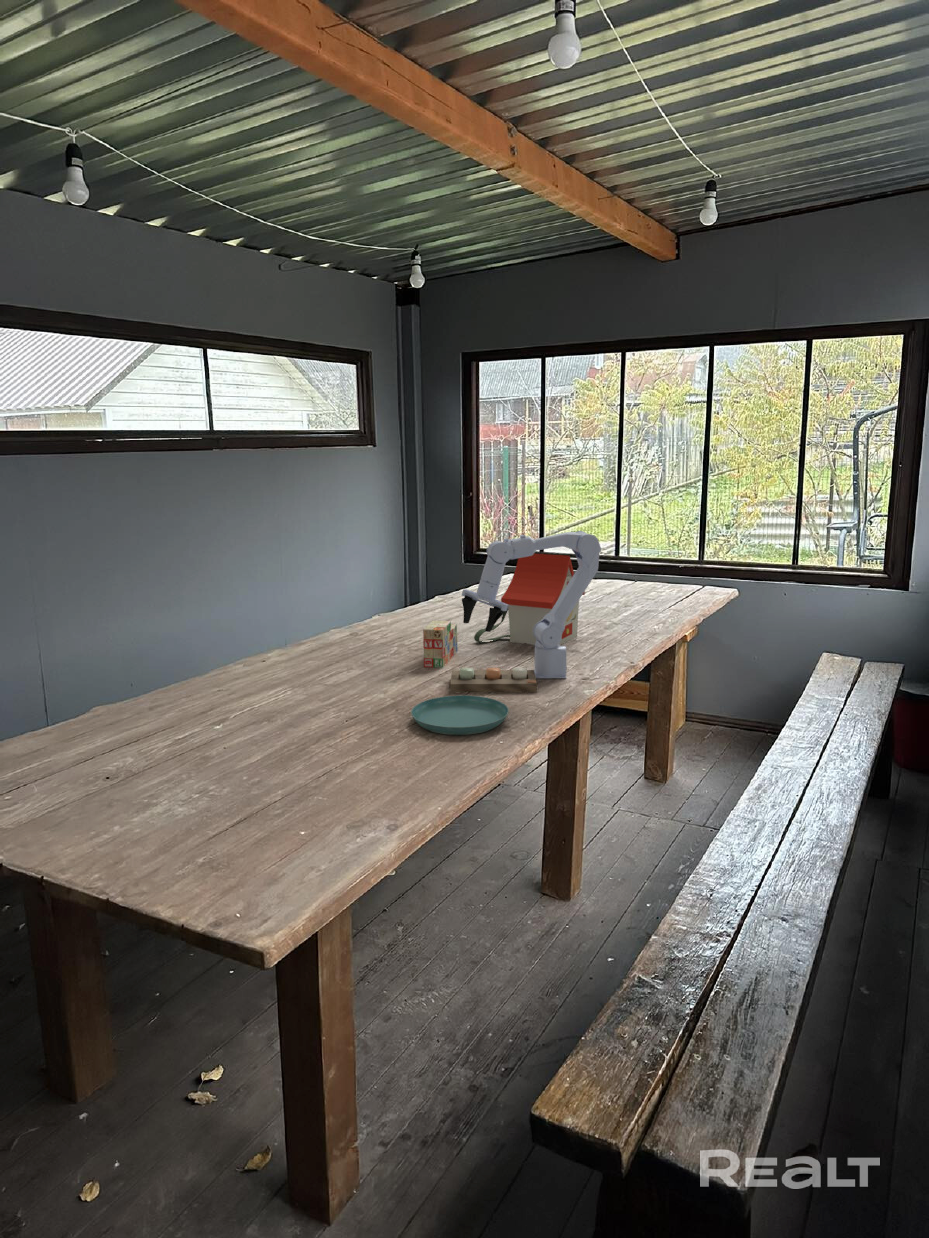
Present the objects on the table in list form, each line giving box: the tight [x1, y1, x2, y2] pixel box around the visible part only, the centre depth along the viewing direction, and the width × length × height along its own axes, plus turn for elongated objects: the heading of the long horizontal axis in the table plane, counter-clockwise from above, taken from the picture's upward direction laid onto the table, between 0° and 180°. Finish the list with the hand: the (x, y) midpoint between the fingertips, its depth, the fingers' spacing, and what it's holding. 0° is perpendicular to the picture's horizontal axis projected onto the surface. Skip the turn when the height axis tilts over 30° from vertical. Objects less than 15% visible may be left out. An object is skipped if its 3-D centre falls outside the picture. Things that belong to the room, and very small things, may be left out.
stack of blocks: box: [422, 620, 458, 668], centre depth 269 cm, size 21×6×12 cm, turn 168°
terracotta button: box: [485, 667, 501, 679], centre depth 240 cm, size 4×4×3 cm
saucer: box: [410, 694, 509, 736], centre depth 210 cm, size 24×24×3 cm
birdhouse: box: [473, 553, 586, 646], centre depth 294 cm, size 36×30×30 cm
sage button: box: [459, 667, 475, 679], centre depth 240 cm, size 4×4×3 cm
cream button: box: [512, 666, 528, 679], centre depth 239 cm, size 4×4×3 cm
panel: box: [450, 669, 538, 693], centre depth 240 cm, size 24×14×3 cm, turn 89°
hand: (476, 627), depth 243 cm, fingers open, 7 cm apart
